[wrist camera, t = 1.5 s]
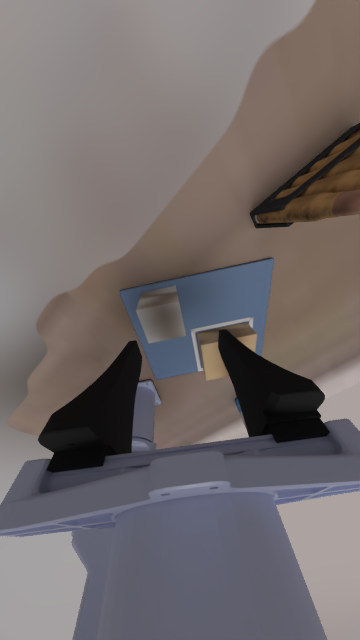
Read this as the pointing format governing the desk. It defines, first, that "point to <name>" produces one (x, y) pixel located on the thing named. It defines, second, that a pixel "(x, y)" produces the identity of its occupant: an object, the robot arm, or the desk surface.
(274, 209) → the ammunition clip
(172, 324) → the top block
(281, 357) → the desk surface
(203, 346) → the base slab
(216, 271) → the board
